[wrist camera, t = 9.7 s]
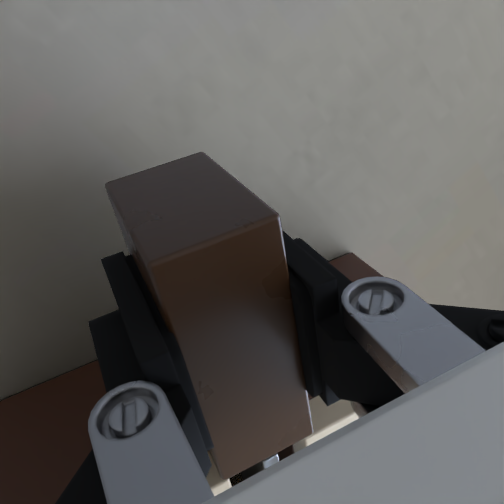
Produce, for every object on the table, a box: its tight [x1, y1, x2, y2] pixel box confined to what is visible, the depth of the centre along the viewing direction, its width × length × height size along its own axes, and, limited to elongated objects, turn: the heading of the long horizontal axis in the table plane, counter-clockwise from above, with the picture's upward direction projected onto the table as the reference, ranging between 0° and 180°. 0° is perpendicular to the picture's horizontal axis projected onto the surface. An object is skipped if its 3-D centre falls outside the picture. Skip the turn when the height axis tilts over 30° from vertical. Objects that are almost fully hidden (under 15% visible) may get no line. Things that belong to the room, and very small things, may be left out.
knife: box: [105, 152, 314, 481], centre depth 13 cm, size 15×2×4 cm, turn 10°
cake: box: [0, 253, 383, 504], centre depth 17 cm, size 13×13×6 cm
